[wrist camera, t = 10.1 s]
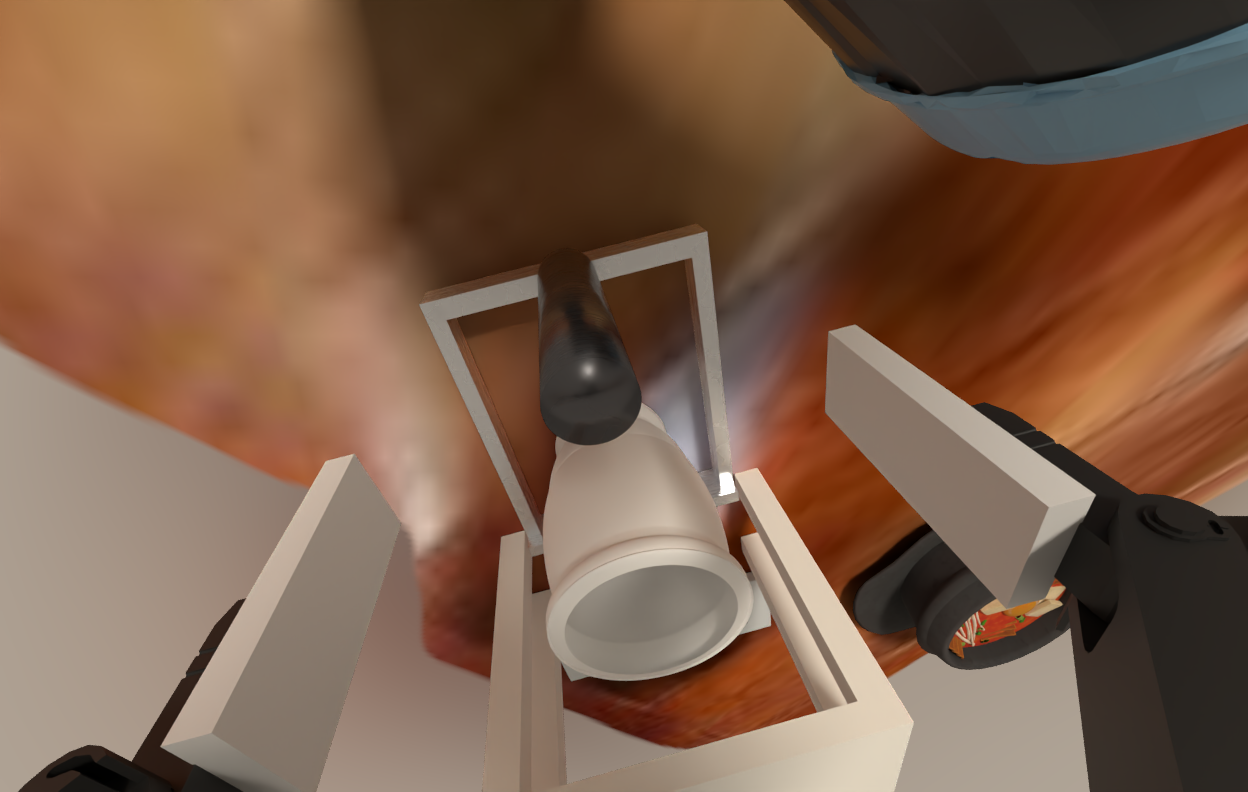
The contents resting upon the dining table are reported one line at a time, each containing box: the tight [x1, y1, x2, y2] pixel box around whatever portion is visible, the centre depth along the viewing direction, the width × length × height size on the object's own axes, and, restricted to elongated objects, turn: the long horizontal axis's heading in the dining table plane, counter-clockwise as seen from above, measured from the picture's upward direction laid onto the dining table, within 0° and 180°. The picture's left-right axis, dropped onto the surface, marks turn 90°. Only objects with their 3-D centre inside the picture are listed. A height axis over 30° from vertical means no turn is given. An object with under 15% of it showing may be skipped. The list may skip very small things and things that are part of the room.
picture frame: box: [419, 224, 739, 557], centre depth 26 cm, size 21×16×15 cm
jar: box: [543, 403, 754, 681], centre depth 30 cm, size 11×10×15 cm
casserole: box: [853, 530, 1071, 670], centre depth 48 cm, size 25×19×8 cm
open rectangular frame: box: [482, 468, 914, 792], centre depth 37 cm, size 22×22×20 cm
